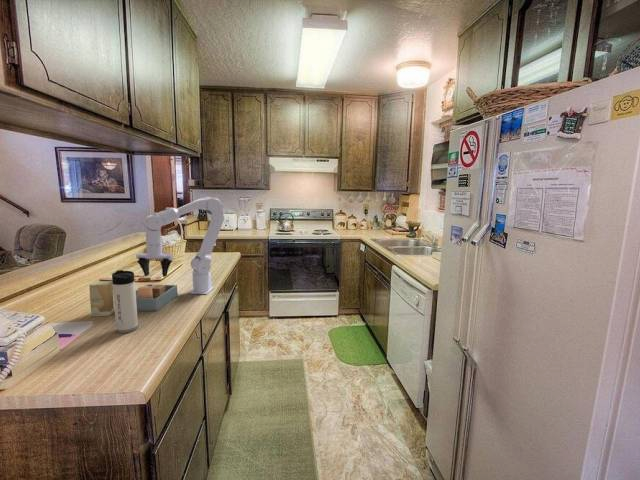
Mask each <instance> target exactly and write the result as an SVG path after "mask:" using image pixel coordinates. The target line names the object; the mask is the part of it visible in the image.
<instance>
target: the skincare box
mask: <svg viewBox="0 0 640 480" xmlns="http://www.w3.org/2000/svg"><path fill="white" fill-rule="evenodd" d="M112 283H113V282H112V281H111V280H109V281H104V280H102V281H93V282H92V283H90V284H89V285H88V286H89V301H90V317H104V316H105V317H107V316H108V317H109V316H111V315H112V314H113V313H115V308H114V296H113V285H112Z"/></svg>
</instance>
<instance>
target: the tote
mask: <svg viewBox="0 0 640 480" xmlns="http://www.w3.org/2000/svg"><path fill="white" fill-rule="evenodd" d="M152 285H159V284H157V283H156V284H154V283H152V284H151V283H147V284H145V285H144V286H152ZM164 285H165V289H166V292H165V293H163V294H162V295H160V296H159V297H157V298H156V299H151V298H139V297H138V289H135V291H136V305H137V312H156V311H157V312H158V311H160V310H161V309H162V308H163V307H165V306H166V305H167V304H169V303H170V302H172V301H173V300H175V299H176V298H177V297H179V296H178V285H177V284H164ZM159 309H160V310H159Z"/></svg>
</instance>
